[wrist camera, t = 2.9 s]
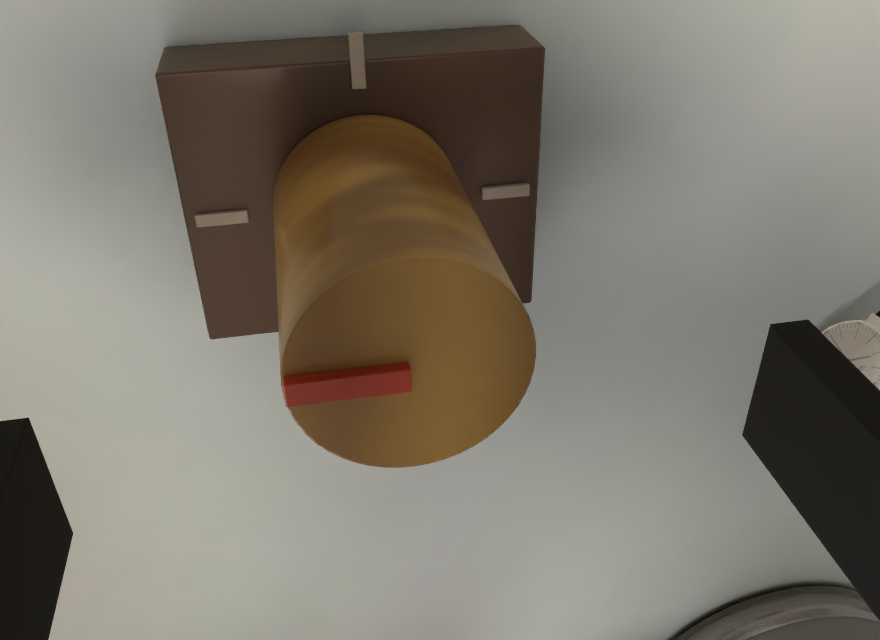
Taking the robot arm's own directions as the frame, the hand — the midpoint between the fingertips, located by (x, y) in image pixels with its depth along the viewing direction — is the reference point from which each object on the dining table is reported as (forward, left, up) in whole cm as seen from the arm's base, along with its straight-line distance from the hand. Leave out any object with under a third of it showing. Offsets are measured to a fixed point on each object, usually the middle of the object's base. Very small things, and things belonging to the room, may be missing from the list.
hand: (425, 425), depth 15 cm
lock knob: (0, 0, -10) cm, 10 cm away
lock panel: (0, 0, -12) cm, 12 cm away
